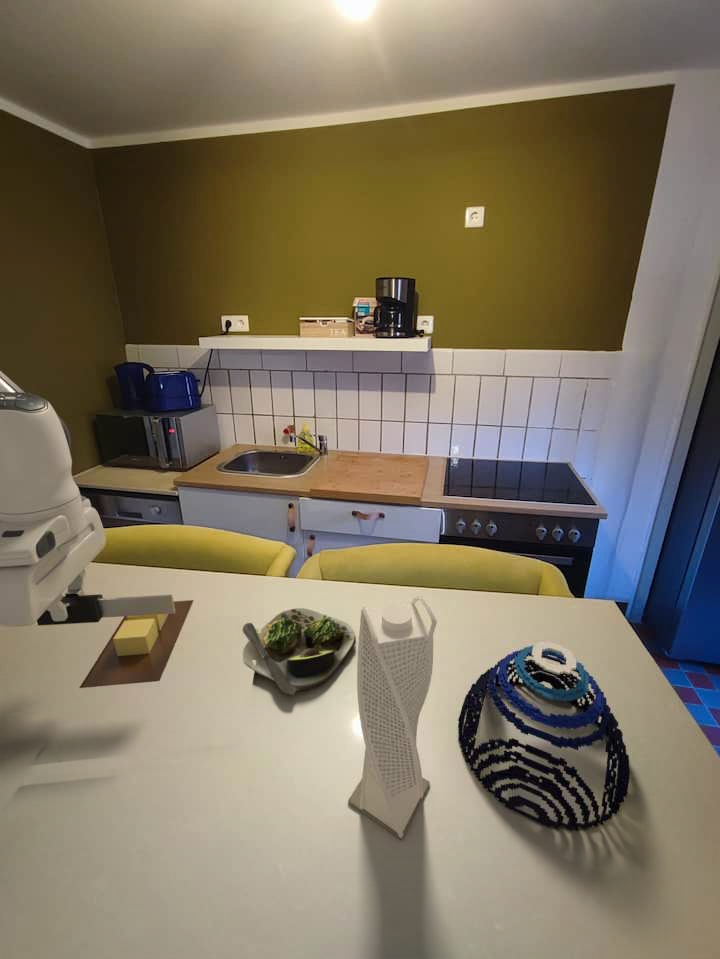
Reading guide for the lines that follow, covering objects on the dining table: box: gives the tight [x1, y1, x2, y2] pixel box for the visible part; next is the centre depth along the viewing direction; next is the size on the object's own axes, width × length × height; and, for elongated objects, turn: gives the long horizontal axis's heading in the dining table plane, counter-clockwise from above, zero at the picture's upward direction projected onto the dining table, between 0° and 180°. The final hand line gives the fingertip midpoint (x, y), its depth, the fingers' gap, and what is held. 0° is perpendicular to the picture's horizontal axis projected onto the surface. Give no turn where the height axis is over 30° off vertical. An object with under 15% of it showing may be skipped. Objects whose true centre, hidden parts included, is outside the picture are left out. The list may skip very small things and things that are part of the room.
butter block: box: [113, 618, 158, 656], centre depth 71 cm, size 5×4×4 cm
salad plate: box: [242, 607, 357, 696], centre depth 71 cm, size 19×18×5 cm
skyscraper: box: [347, 594, 438, 841], centre depth 44 cm, size 8×8×28 cm
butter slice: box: [127, 614, 168, 631], centre depth 76 cm, size 5×4×4 cm
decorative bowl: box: [457, 640, 631, 832], centre depth 53 cm, size 20×20×14 cm
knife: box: [36, 593, 175, 627], centre depth 61 cm, size 18×2×3 cm, turn 95°
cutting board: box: [79, 599, 194, 689], centre depth 73 cm, size 16×20×2 cm
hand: (70, 609), depth 60 cm, fingers closed on knife, 2 cm apart
